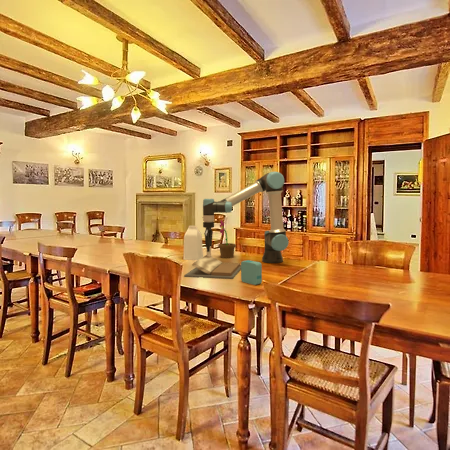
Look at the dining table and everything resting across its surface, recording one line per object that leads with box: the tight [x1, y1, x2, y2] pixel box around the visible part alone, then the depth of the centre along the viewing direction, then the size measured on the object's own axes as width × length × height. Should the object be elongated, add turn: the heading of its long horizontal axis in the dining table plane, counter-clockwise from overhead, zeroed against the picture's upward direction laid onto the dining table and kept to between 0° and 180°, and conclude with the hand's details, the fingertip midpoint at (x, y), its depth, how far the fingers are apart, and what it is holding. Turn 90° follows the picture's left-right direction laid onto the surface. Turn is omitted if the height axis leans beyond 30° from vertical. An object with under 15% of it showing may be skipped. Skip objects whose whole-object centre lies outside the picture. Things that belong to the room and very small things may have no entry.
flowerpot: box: [217, 219, 237, 259], centre depth 265 cm, size 14×14×30 cm
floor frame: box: [184, 262, 241, 280], centre depth 216 cm, size 30×35×3 cm
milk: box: [183, 225, 204, 261], centre depth 261 cm, size 12×12×26 cm
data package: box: [240, 259, 263, 286], centre depth 186 cm, size 12×4×12 cm, turn 41°
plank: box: [192, 254, 223, 275], centre depth 217 cm, size 12×30×2 cm, turn 168°
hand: (208, 256), depth 227 cm, fingers closed
